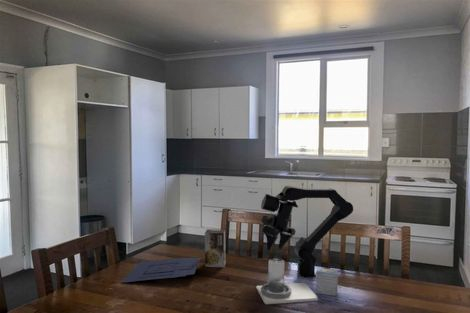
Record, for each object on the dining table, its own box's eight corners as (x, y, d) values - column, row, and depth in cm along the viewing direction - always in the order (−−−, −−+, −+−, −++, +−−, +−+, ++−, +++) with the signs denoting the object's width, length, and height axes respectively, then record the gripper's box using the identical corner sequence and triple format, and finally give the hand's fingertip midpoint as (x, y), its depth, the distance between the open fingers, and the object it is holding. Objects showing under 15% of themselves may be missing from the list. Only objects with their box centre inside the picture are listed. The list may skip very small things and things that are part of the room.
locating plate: (304, 285, 147) (304, 279, 147) (318, 300, 133) (318, 293, 133) (256, 288, 144) (256, 282, 144) (265, 304, 130) (265, 297, 130)
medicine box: (337, 292, 141) (338, 270, 141) (337, 296, 137) (337, 274, 136) (317, 289, 144) (317, 267, 143) (315, 293, 139) (316, 271, 139)
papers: (194, 282, 146) (193, 273, 146) (121, 289, 148) (120, 280, 148) (202, 262, 171) (201, 254, 170) (139, 268, 172) (138, 260, 172)
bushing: (278, 286, 143) (279, 256, 143) (290, 294, 136) (291, 262, 136) (261, 290, 140) (261, 259, 139) (273, 298, 133) (273, 266, 132)
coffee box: (225, 262, 173) (226, 229, 172) (224, 267, 166) (224, 232, 166) (206, 262, 174) (207, 228, 173) (204, 266, 167) (204, 232, 167)
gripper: (279, 209, 169) (270, 241, 169) (256, 208, 154) (247, 243, 154) (300, 217, 162) (290, 251, 162) (278, 216, 147) (268, 253, 147)
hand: (274, 249), depth 157 cm, fingers open, 9 cm apart
